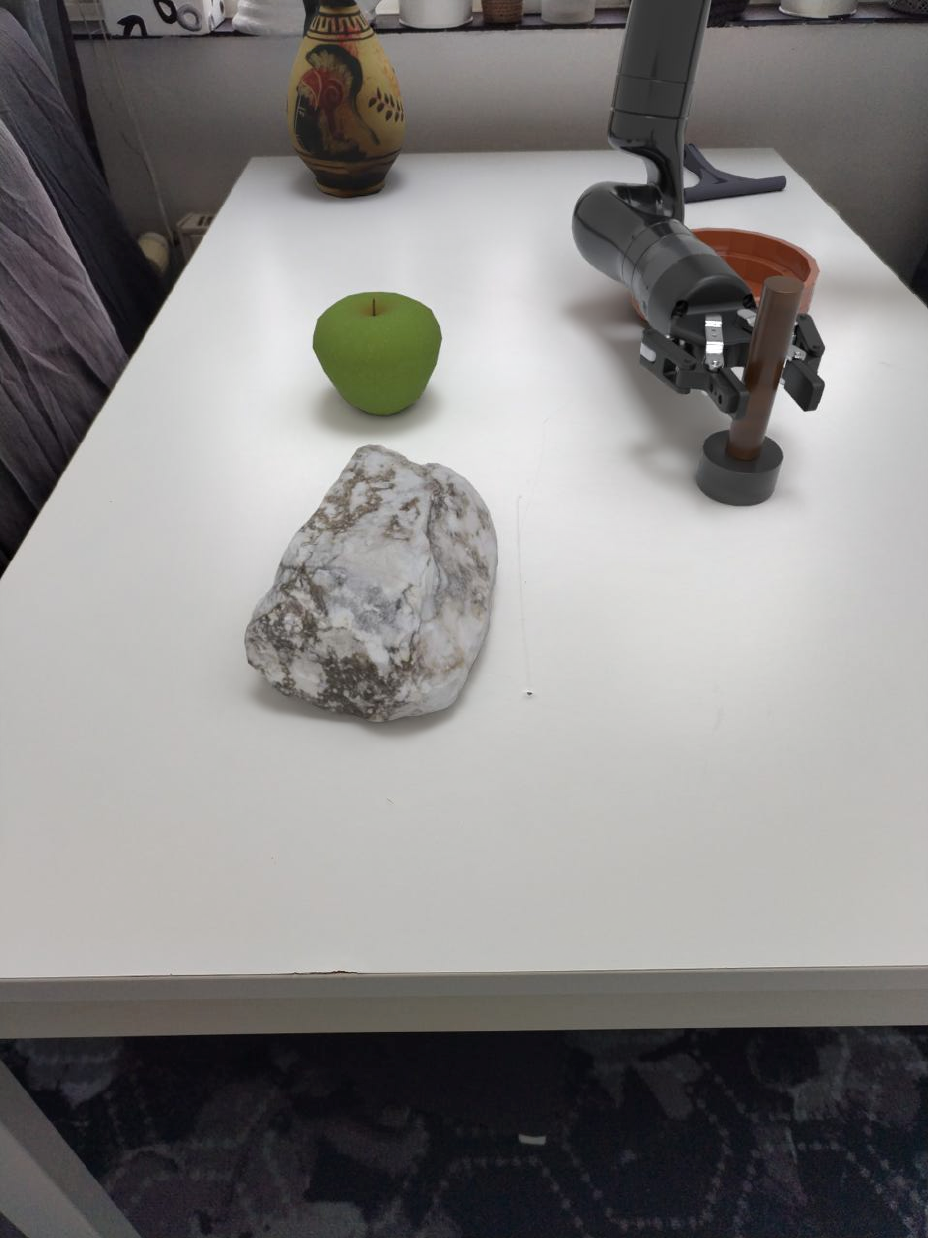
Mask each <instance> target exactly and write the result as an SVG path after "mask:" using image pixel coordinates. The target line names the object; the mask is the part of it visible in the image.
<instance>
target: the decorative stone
mask: <svg viewBox="0 0 928 1238" xmlns="http://www.w3.org/2000/svg"><path fill="white" fill-rule="evenodd" d="M498 547H499V546H498V538H497V532H496V528H495V525H494V521H493V518H492V514H491V512H490V509H489V507H488V505H487V503H486V502H485V500H484V499H483V497H482V495H481V494H480V493H479V492H478V490H477V489H476V488H475V486H474V485H473V484H472V483H471V482H470V481H469V480H468V479H467V478H466V477H465V476H463V475H462V474H460V473H458V472H457V471H455V470H453V468H451V467H448V466H445V465H443V464H441V463H439V462H428V463H426V464H425V463H424V464H419V463H417V462H414V461H411V460H409V459H408V458H407V456H406V455H403V454H402V453H400V452H399V451H396V450H393V449H390V448H386V447H385V446H383V445H381V444H373V443H371V444H370V443H368V444H364V445H363V446H360V447H357V448H356V449H355V452H354V453H353V455H352V456H351V458H350V459H349V461H348V463H347V464H346V465H345V467H344V468H343V470H341V472H340V474H339V477H338V478H337V479H336V480H335V482H333V484H332V485H331V486H330V487H329V488H328V490H327V491H326V493H325V495H324V497H323V499H322V501H321V503H320V504H319V505H318V508H317V509H316V510H315V512H314V513H313V514H312V515H311V517H310V518H309V519H308V520H307V522H305V523H304V524H303V525H302V526H301V527H299V529H297V530H296V532H295V533H294V535H293V536H292V538H291V540H290V541H289V543H288V545H287V547H286V548H285V551H284V552H283V554H282V557H281V558H280V562H279V564H278V567H277V569H276V572H275V575H274V580H273V582H272V586H271V587H270V588H269V589H268V591H267V592H266V593H265V595H264V596H263V597H261V598H260V599H258V601H257V603H256V605H255V607H254V608H253V609H252V612H251V618H250V620H249V622H248V624H247V626H246V627H245V632H244V640H243V643H244V648H245V653H246V661H247V664H248V665H249V666H250V667H252V668H253V669H254V670H255V671H256V672H258V673H259V674H260V675H262V677H263V678H265V680H267V681H268V682H269V684H270V686H271V687H272V689H273V690H274V691H276V692H277V693H278V694H281V695H282V696H285V697H288V698H289V697H291V696H294V695H295V696H297V697H299V698H301V699H302V700H304V701H305V702H307V703H309V704H311V705H313V706H315V707H318V708H320V709H322V710H325V711H328V712H332V713H334V714H335V713H336V714H340V715H341V714H343V715H344V714H345V715H348V714H349V715H354V716H358V717H360V718H362V719H364V720H365V721H368V722H374V723H383V722H389V721H393V720H397V719H400V718H403V717H418V716H422V715H427V714H431V713H434V712H438V711H441V710H444V709H447V708H448V707H450V706H451V705H452V704H454V703H455V701H456V699H457V698H458V696H459V694H460V691H461V689H462V688H463V686H464V684H465V682H466V681H467V679H468V676H469V672H470V670H471V668H472V666H473V664H474V662H475V660H476V657H477V656H478V654H479V652H480V650H481V648H482V646H483V644H484V642H485V640H486V637H487V635H488V632H489V630H490V626H491V614H492V595H493V589H494V586H495V584H496V577H497V573H498V572H497V569H498V564H499V553H498V552H499V551H498Z"/></svg>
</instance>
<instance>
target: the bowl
mask: <svg viewBox="0 0 928 1238" xmlns="http://www.w3.org/2000/svg"><path fill="white" fill-rule="evenodd" d="M689 229H690V231H691V232H692V233H693V234H694V235H695V236H696V237H697V238H698V239H699V240H700V241H701V242H703V243H705V244H706V245H708V246H710V247H711V248H712V249H713V250H714V251H715V252H716V253H717V254H718V255H719V256H720V257H721V258H722V259H723V260H724V261H725V262H726V263H727V264H728V265H729V266H730V267H731V268H732V269H733V270H734V271H735V272H736V273H737V274H738V275H739V276H740V277H741V278H742V279H743V280H744V281H745V282H746V283H747V285H748V286H749V287H750V289H751V291H752V293H753V296H754V299H755V302H756V305H757V308H758V305H759V301H760V297H761V292H762V288H763V284H764V281H765V280H766V279H767V278H769V277H772V276H788V277H793V278H796V279H798V280H800V281H802V282H803V283H804V285H805V288H804V292H803V295H802V299H801V303H800V307H799V310H798V314H799V313H804V314H808V315H809V312H810V308H811V305H812V300H813V298H814V297H813V296H814V295H815V294H814V293H815V290H816V285H817V282H818V279H819V275H820V268H819V266H818V263H817V260H816V259H815V258H814V257H813V256H812V255H811V254H810V253H808V251H806V250H805V249H804V248H802V247H800V246H798V245H796V244H794V243H793V242H790V241H787V240H785V239H783V238H780V237H777V236H773V235H770V234H766V233H762V232H760V231H753V230H746V229H739V228H731V227H701V228H700V227H699V228H698V227H697V228H689ZM631 306H632V307H633V309H634V310H635V311H636V313H637V315H638V316H639V317H640V318H642V319H643V320H644V321H646V322H648V321H647V320H646V319H645V317H644V316H643V314H642V312H641V310H640V308H639V306H638V303H637V301H636V300H635V298H634V297H633V296H632V295H631Z"/></svg>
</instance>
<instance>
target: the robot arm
mask: <svg viewBox="0 0 928 1238" xmlns="http://www.w3.org/2000/svg"><path fill="white" fill-rule="evenodd" d="M711 4H712V0H631V2H630V6H629V11H628V15H627V19H626V22H625V27H624V33H623V36H622V42H621V46H620V51H619V57H618V63H617V68H616V74H615V80H614V85H613V91H612V98H611V104H610V107H611V108H610V110H609V115H608V123H607V130H606V131H607V132H606V137H607V141H608V143H609V145H610V146H611V147H612V148H613V149H614V150H616V151H618V152H621V153H623V154H625V155H629V156H633V157H635V158H638V159H640V160H642V161H643V163H644V166H645V171H646V177H647V178H646V183H635V182H623V181H622V182H621V181H611V180H607V181H606V180H605V181H599V182H596V183H594V184H592V185H590V186H589V187H588V188H586V189H585V190H584V191H583V192H582V193H581V194H580V196H579V197H578V199H577V200H576V203H575V204H574V207H573V210H572V216H571V233H572V234H571V235H572V237H573V241H574V245H575V247H576V250H577V251H578V253H579V254H580V256H581V257H582V258H583V260H584V261H585V262H587V264H589V266H591V267H592V268H593V269H595V270H596V271H599V272H600V273H602V274H603V275H605V276H606V277H608V278H610V279H611V280H613V281H615V282H617V283H620V284H622V285H623V286H625V287H626V289H627V290H628V291H629V293H630V294H631V297H632V296H633V297H634V298H635V300H636V301H637V303H638V306H639V308H640V310H641V312H642V314H643V316H644V317H645V319H646V320H647V321H646V320H645V319H644V320H645V321H646V322H647V323H648V324H649V326H650V327H651V328H646V329H643V330H642V335H641V341H640V348H639V354H638V363H639V364H640V365H641V366H643V367H644V368H645V369H646V370H647V371H649V372H650V373H652V375H654V377H656V378H658V379H659V380H660V381H661V382H663V383H664V384H665V385H666V386H667V387H669V388H670V389H671V390H672V391H674V392H675V393H676V394H679V395H689V394H691V392H692V390H698V391H699V390H700V393H701V394H702V395H703V396H706V397H710V399H711V401H712V402H713V403H714V405H715V406H716V407H717V408H718V410H719V411H720V412H721V413H723V414H724V415H728V416H729V418H730V419H731V421H732V420H739V419H744V418H745V416H746V412H747V408H748V404H749V399H750V394H749V391H748V389H747V388H746V387H745V386H744V385H743V383H742V382H741V379H740V378H739V376H737V375H736V373H735V372H734V371H733V370H732V368H743V369H744V366H745V361H746V357H747V353H748V349H749V344H750V340H751V336H752V331H753V327H754V323H755V318H756V314H757V310H758V308H757V305H756V302H755V299H754V296H753V293H752V291H751V289H750V287H749V286H748V285H747V283H746V282H745V281H744V280H743V279H742V278H741V277H740V276H739V275H738V274H737V273H736V272H735V271H734V270H733V269H732V268H731V267H730V266H729V265H728V264H727V263H726V262H725V261H724V260H723V259H722V258H721V257H720V256H719V255H718V254H717V253H716V252H715V251H714V250H713V249H712V248H711V247H710V246H708V245H706V244H705V243H703V242H701V241H700V240H699V239H698V238H697V237H696V236H695V235H694V234H693V233H692V232H691V231H690V229H691V228H689V227H688V226H687V225H685V221H686V205H685V203H686V202H684V188H685V180H684V179H685V177H684V176H685V175H684V173H685V172H684V171H685V169H684V167H685V166H684V145H685V138H686V137H685V136H686V131H687V126H688V120H689V119H688V118H689V116H690V111H691V106H692V102H693V97H694V93H695V89H696V88H695V87H696V83H697V79H698V73H699V68H700V63H701V58H702V52H703V47H704V42H705V38H706V32H707V26H708V21H709V16H710V15H709V14H710V10H711ZM825 351H826V345H825V343H824V341H823V339H822V336H821V334H820V333H819V330H818V328H817V326H816V324H815V321H814V320H813V317H812V315H810V314H809V313H808V314H804V313H799V314H797V318H796V322H795V325H794V329H793V333H792V337H791V340H790V344H789V348H788V352H787V355H786V359H785V363H784V367H783V370H782V374H781V378H780V382H779V385H782V386H783V387H782V388H783V389H784V391H785V392H786V393H787V394H788V395H789V396H790V398H791V399H792V400H793V402H795V404H796V405H797V406H798V407H799V408H800V409H801V410H802V412H804V413H808V412H816V411H817V409H818V407H819V404H820V403H821V400H822V398H823V394H824V391H825V388H826V383H825V382H826V381H825V380H824V379H823V378H822V377H821V376H820V375H819V374H818V373H819V368H820V364H821V361H822V359H823V358H822V357H823V356H824V353H825ZM677 367H678V368H677Z"/></svg>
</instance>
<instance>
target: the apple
mask: <svg viewBox="0 0 928 1238" xmlns="http://www.w3.org/2000/svg"><path fill="white" fill-rule="evenodd" d="M442 334H443V333H442V329H441V325H440V323H439V321H438V319H437V317H436V315H435V314H434V312H433V310H432V309H431V308H430V307H429V306H427V305H425V304H424V303H422V302H421V301H419V300H417V299H414V298H412V297H410V296H407V295H404V294H400V293H398V292H389V291H364V292H359V293H354V294H350V295H349V294H348V295H347V296H345V297H343V298H341V299H339V300H337V301H336V302H334V303H333V304H332V305H330V306H329V307H327V308H326V309H325V310H324V312H322V313H321V315H319V317H318V318H317V319H316V324H315V327H314V330H313V334H312V350H313V352H314V354H315V357H316V358H317V360H318V363H319V365H320V366H321V369H322V371H323V373H324V374H325V376H326V377H327V378H328V380H329V381H330V383H331V384H332V385H333V387H334V388H335V390H336V391H337V392H338V393H339V395H340V396H341V398H343V399H344V401H345V402H347V403H348V404H349V405H351V406H353V407H356V408H357V409H359V410H361V411H364V412H365V413H366V414H367V413H368V414H369V415H373V416H374V415H375V416H378V417H379V416H380V417H381V416H382V417H383V416H386V417H387V416H392V415H395V414H398V413H399V412H401V411H402V410H404V409H406V408H407V407H409V406H410V405H412V404H413V403H415V402H417V401H418V400H420V399H421V397H422V396H423V393H424V392H425V391H426V388H427V386H428V384H429V382H430V379H431V377H432V375H433V373H434V371H435V369H436V367H437V364H438V360H439V355H440V352H441V346H442V342H443V341H442V340H443V335H442Z"/></svg>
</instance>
